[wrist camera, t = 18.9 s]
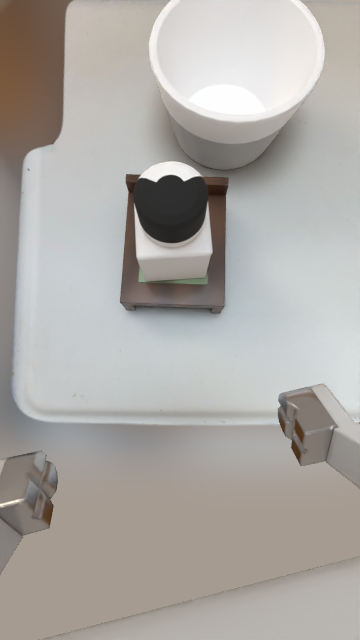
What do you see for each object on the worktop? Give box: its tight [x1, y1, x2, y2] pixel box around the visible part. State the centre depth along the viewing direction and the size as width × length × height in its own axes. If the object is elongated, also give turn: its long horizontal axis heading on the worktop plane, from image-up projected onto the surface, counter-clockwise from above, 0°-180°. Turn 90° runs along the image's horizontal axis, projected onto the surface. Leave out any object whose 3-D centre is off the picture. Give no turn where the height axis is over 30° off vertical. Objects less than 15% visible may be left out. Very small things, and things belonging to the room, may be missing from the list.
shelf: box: [120, 174, 229, 313], centre depth 36 cm, size 12×15×6 cm
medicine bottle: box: [133, 161, 213, 281], centre depth 29 cm, size 7×7×12 cm
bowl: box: [149, 0, 325, 170], centre depth 37 cm, size 19×19×11 cm
